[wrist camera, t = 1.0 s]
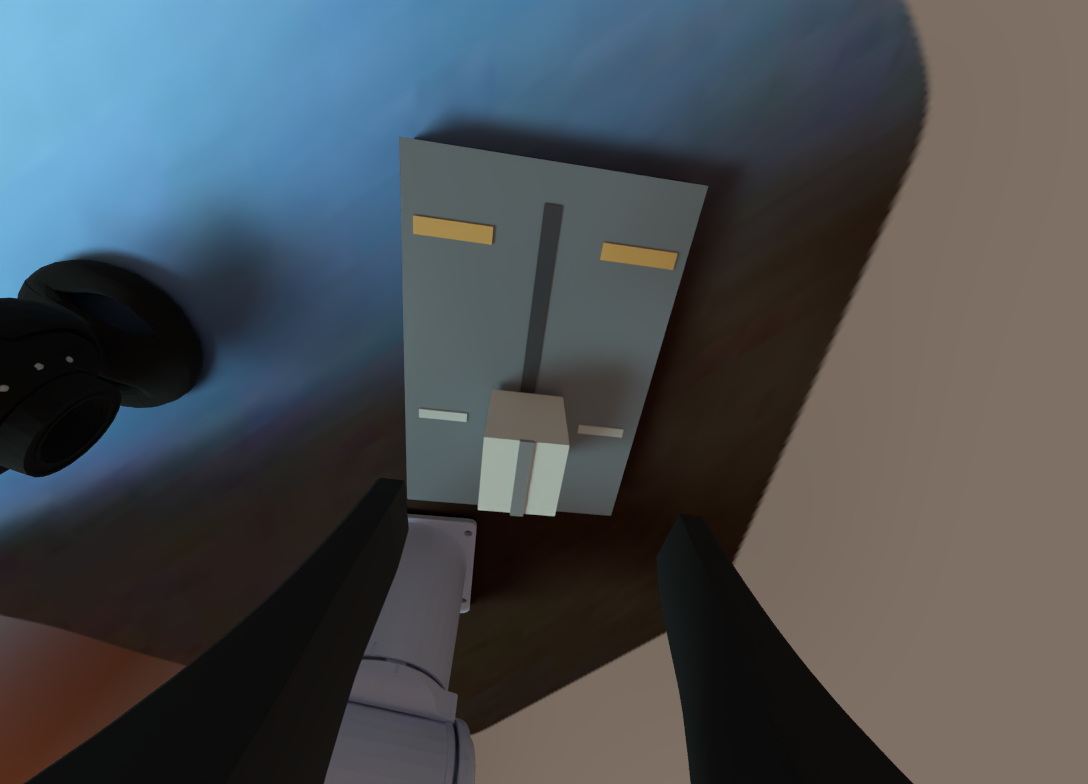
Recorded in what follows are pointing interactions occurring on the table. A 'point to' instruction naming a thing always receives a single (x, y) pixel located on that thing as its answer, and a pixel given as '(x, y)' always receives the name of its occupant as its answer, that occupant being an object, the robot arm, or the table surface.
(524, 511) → the fader
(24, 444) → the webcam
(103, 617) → the table surface
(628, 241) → the console
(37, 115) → the table surface
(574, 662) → the table surface
